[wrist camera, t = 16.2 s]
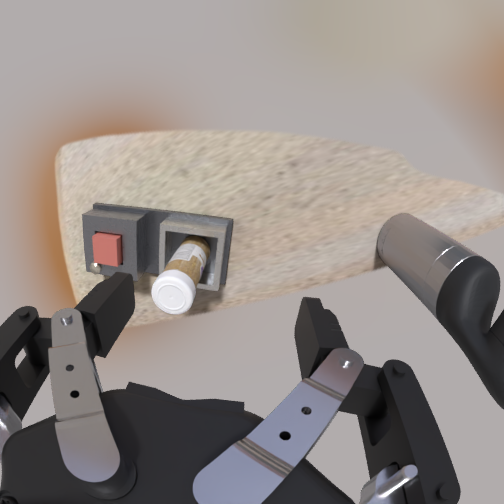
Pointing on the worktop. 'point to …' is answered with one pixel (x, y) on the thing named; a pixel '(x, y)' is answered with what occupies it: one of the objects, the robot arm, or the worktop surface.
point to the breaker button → (107, 248)
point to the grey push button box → (157, 240)
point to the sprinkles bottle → (181, 276)
